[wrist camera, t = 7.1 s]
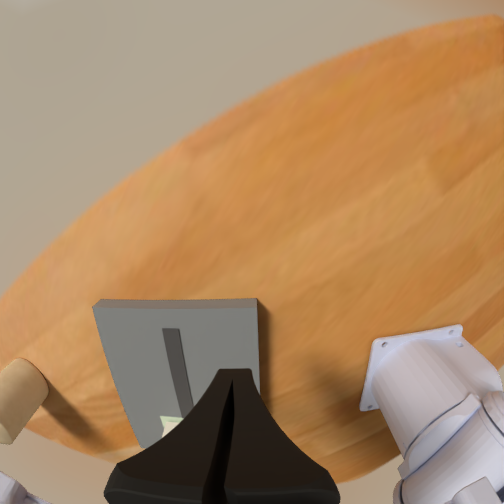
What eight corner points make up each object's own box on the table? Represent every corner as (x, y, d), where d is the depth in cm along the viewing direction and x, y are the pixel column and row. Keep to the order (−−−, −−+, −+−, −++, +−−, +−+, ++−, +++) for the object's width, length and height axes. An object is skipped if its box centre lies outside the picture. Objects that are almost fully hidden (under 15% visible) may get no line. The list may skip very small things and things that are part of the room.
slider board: (256, 298, 21) (257, 308, 19) (261, 443, 25) (261, 455, 23) (100, 299, 21) (91, 307, 19) (144, 437, 25) (140, 448, 23)
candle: (51, 404, 24) (11, 462, 15) (16, 383, 24) (-27, 432, 14) (47, 371, 23) (-3, 431, 13) (10, 348, 23) (-43, 398, 13)
